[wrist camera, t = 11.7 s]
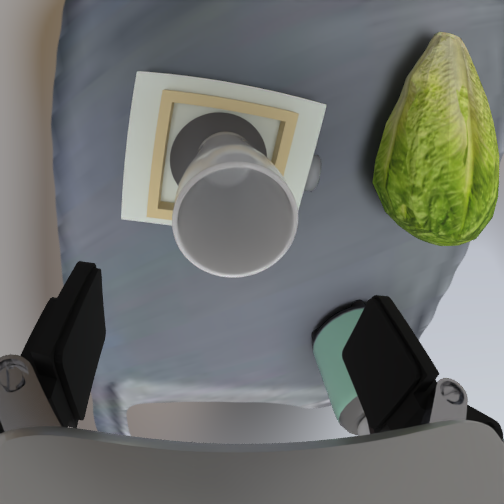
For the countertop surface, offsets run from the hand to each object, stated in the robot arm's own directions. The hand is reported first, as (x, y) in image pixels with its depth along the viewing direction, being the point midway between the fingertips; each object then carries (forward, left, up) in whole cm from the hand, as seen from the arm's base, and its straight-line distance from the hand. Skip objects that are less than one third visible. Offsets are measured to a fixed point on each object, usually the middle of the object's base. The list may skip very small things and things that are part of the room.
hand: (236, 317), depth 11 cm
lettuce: (-9, +23, -27) cm, 36 cm away
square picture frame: (0, 0, -26) cm, 26 cm away
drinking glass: (0, +1, -22) cm, 22 cm away
